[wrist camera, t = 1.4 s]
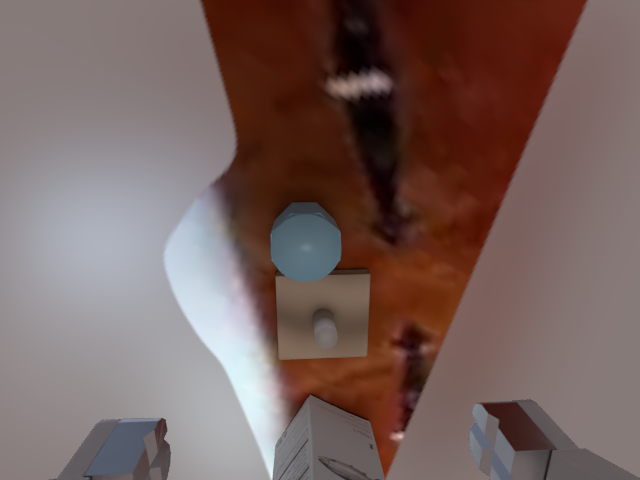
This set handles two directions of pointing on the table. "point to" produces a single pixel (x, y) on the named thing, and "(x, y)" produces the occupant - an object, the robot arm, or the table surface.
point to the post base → (317, 296)
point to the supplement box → (327, 446)
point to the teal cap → (305, 242)
